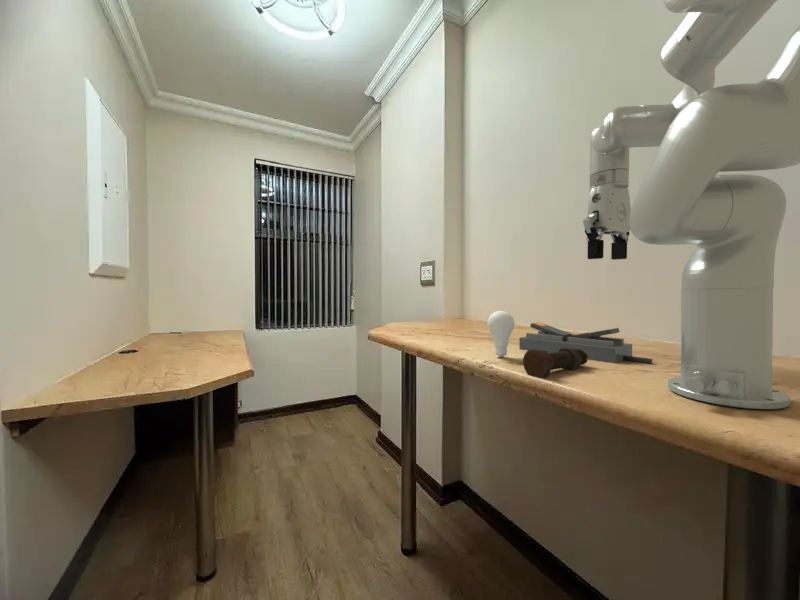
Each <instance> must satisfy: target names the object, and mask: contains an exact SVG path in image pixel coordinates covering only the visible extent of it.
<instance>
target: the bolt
mask: <svg viewBox="0 0 800 600" xmlns="http://www.w3.org/2000/svg"><path fill="white" fill-rule="evenodd" d="M587 358H588V355H587V354H586V353H585V352H584V351H582V350H580V349H576V348H570V347H561V348H560V349H559V351H558V352H552V353H547V351H546V350H539V349H529V350H526V352H525V353H524V356H523V357H522V366H523V368H524V370H525V372H526V373H527V375H529V376H530V377H531V376H532V377H536V378H541V379H544V378H547V377H548V376H549V374H550V372H551V371H553V370H558V369H565V370H568V371H575V370H578V369H579V367H580V366H582V365H585V364H587V362H588V360H589V359H587Z"/></svg>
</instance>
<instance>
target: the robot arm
mask: <svg viewBox="0 0 800 600" xmlns="http://www.w3.org/2000/svg"><path fill="white" fill-rule="evenodd" d="M777 1H778V0H663V4H664V7H665V8H666V10H668V11H669V12H671V13H675V14H685V15H684V17H683V18H682V19H681V21H680V22H679V24H678V25H677V26H676V27H675V29H674V30H673V32H672V33H671V34H670V35H669V38H668V39H667V40H666V42H664V44H663V46H662V49H661V50H660V51H661V52H660V62H661V66H662V67H663V69H664V70H665V71H666V72H667V73H668V74H669V75H670V76H671V77H673V78H674V79H676V80H677V81H680V82H681V83H683V84H685V85H684V86H683V87H682V89H680V91H679V93H677V95H676V96H675V97H674V98H673V99H672V100H671V101H670V102H669V103H668V104H646V105H643V104H642V105H641V104H640V105H628V106H627V105H626V106H625V105H624V106H620V107H619V106H618V107H616V108H613V109H612V110H610V111H609V112H608V113H607V115H606V116H605V118H604V119H603V120H602V122H601V123H600V125H599V126H597V127H595V129H593V131H591V134H590V136H589V137H590V138H589V197H588V204H587V205H588V206H587V217H585V218H584V219H583V220H582V222H583V227H584V233H585V236H586V237H585V239H586V242H587V259H588V260H599V259H601V260H603V258H604V250H605V249H604V243H605V242H604V239H603V236H604V235H609V236H610V237H611V239H612V241H613V242H611V253H610V254H611V256H610V259H611V260H614V261H615V260H616V261H617V260H626V259H627V258H628V241H629V236H630V231H631V234H632V235H633V236H634V238H636V239H637V240H638V241H640V242H643V243H645V244H648V245H657V246H658V245H660V246H664V245H665V246H668V245H669V246H674V245H677V246H678V245H679V246H680V245H696V248H695V249H694V251H693V252H692V254H691V255H690V256H689V258H688V260H687V262H686V263H685V266H684V268H683V271H682V274H681V288H680V289H681V290H680V376H675V377H671V378H670V379H668V381H667V386H668V387H667V388H668V389H669V390H670V391H672V392H674V393H675V394H678V395H679V396H683V397H686V398H689V399H691V400H696V401H700V402H704V403H708V404H714V405H720V406H727V407H731V408H733V407H734V408H741V409H748V410H749V409H751V410H778V409H780V410H781V409H784V408H787V407H789V406H790V404H791V403H790V396H789V395H788V394H786V393H785V392H783V391H781V390H778V389H775V388H773V343H774V342H773V341H774V340H773V338H774V337H773V336H774V335H773V334H774V333H773V331H774V327H773V325H774V324H773V323H774V286H775V284H774V283H775V259H776V253H777V252H776V251H777V245H778V240H779V236H780V234H781V233H780V232H781V229H782V226H783V223H784V219H785V216H786V209H787V197H786V195H785V191H784V190H783V188H782V187H781V186H780V185H779V184H778V183H777V182H776V181H774V180H772V179H770V178H768V177H764V176H761V175H755V174H744V173H742V174H741V173H739V174H737V173H734V174H732V173H730V174H718V173H720V172H721V173H722V172H726V173H727V172H748V171H749V172H750V171H751V172H752V171H769V170H771V171H772V170H779V169H786V168H790V167H793V166H794V167H795V166H796V165H799V164H800V25H799V26H798V27H797V28H796V29H795V30H794V32H793V33H792V34H791V35H790V36H789V38H788V40H787V41H786V43H785V45H784V47H783V48H782V49H781V52H780V54H779V55H778V57H777V58H776V60H775V62H774V63H773V64H772V66H771V67H770V69H769V70H768V71H767V74H765V76H764V77H763V78H762V79H761V80H760V81H759V82H757V83H753V82H751V83H733V84H726V85H721V86H716V87H715V83H716V68H717V67H718V65H719V64H720V63H721V62H722V61H723V60H724V59H725V58H726V57H727V56H728V55H729V54H730V53H731V52H732V50H733V49H734V48H735V47H736V46H737V45H738V44H739V42H741V41H742V39H743V38H744V37H746V35H747V34H749V32H750V31H751V30H752V29H753V28H754V26H755V25H756V24H757V23H758V22H759V21H760V20H761V19H762V17H764V15H765V14H767V13H768V11H769V10H770V9H771V8H772V7H773V6H774V4H775V3H776V2H777ZM653 147H654V148H655V147H658V149H657V151H656V152H655V154H654V157H653V159H652V161H651V163H650V165H649V168H648V170H647V172H646V174H645V175H644V177H643V180H642V182H641V184H640V186H639V188H638V190H637V192H636V195H635V197H634V200H633V202H632V205H631V198H630V191H629V184H630V183H629V182H630V149H631V148H653Z"/></svg>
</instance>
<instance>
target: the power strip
mask: <svg viewBox="0 0 800 600" xmlns="http://www.w3.org/2000/svg"><path fill="white" fill-rule="evenodd" d="M525 335H526V336H522V337H519V339H518V340H519V341H518V343H519V350H526V351H528V350H529V349H539V350H546V351H547V353H552V352H558V351H559V349H560V348H561V347H570V348H576V349H580V350H582V351H584V352H585V353H586V354H587V355H588V358H587V359H588V360H593V361H599V362H600V361H601V362H605V363H606V362H607V363H613V364H614V363H615V364H617V363H620V362H622V361H627V362H629V361H630V362H637V363H643V364H653V358H649V357H640V356H633V344H632V343H628V342H627V343H626V342H625V339H624V338H619V337H611V336H610V337H609V336H608V337H607V336H600V337H596V338H574V337H568V338H565V339H563V336H555V335H550V334H545V333H544V332H542V331H540V330H537V333H534V332H533V333H532V332H526V334H525ZM574 335H576V334H575V333H571V336H574Z"/></svg>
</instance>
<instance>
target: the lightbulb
mask: <svg viewBox="0 0 800 600" xmlns="http://www.w3.org/2000/svg"><path fill="white" fill-rule="evenodd" d="M515 323H516V322H515V319H514V317H513V315H511V313H509V312H507V311H505V310H498V311H497V310H496V311H494V312H493V313H491V314H490V315H489V317H488V319H487V328H488V331H489V333H490V334H491V336H492V339H493V345H494V348H495V349H494V350H495V355H497V356H498V357H499V358H504V357H505V356H507V354H508V346H509V340H510V337H511V334H512V333H513V331H514V329H515V326H516V325H515Z"/></svg>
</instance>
